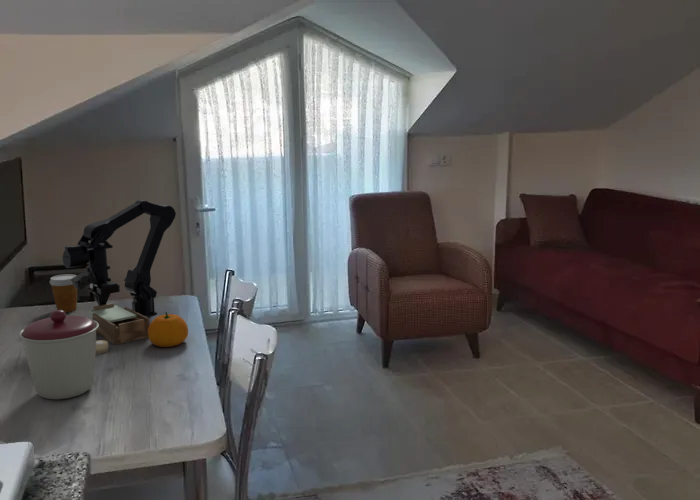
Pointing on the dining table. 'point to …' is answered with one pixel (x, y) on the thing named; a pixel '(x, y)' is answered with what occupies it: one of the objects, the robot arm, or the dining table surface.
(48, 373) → the canister
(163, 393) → the dining table surface
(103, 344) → the tape roll
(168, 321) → the fruit
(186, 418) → the dining table surface
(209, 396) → the dining table surface
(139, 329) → the walnut box
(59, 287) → the disposable coffee cup
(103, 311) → the lid
